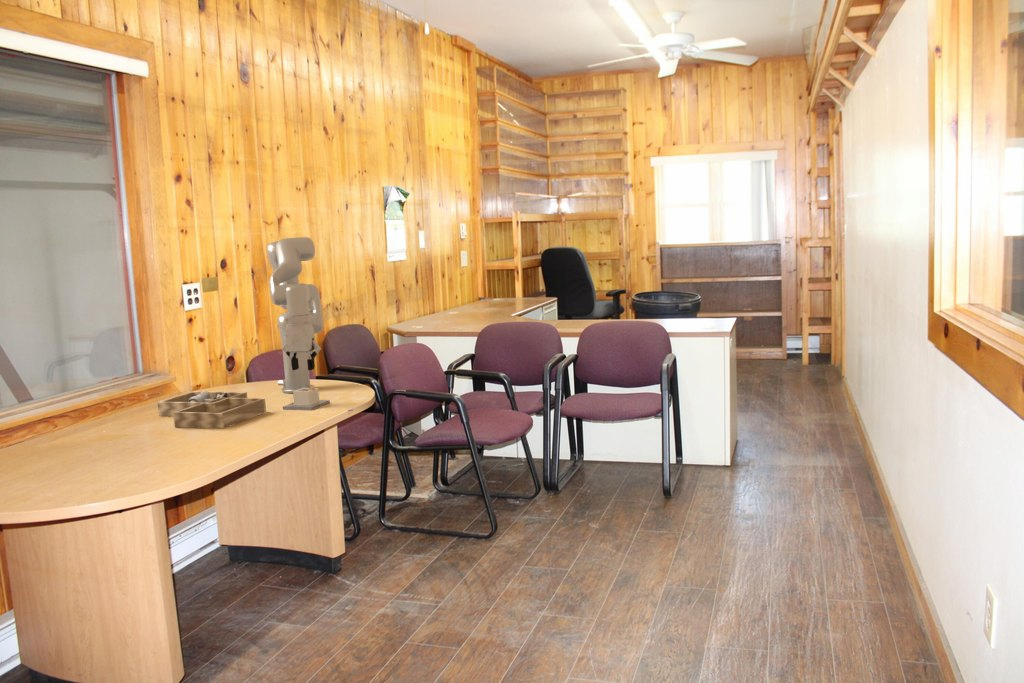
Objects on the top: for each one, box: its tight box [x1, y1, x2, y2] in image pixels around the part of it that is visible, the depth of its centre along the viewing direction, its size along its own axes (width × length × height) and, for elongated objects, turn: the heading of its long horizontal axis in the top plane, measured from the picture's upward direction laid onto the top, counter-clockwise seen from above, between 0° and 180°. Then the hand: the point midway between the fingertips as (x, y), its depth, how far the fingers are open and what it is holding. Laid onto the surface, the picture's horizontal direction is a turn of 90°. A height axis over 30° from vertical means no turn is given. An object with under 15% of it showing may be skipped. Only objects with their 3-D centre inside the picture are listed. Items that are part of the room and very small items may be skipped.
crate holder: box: [157, 391, 248, 417], centre depth 302 cm, size 24×19×5 cm
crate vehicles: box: [173, 397, 267, 430], centre depth 286 cm, size 19×24×5 cm
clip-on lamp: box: [188, 390, 227, 403], centre depth 302 cm, size 12×6×18 cm
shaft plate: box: [282, 390, 331, 411], centre depth 301 cm, size 12×12×6 cm
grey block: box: [292, 386, 320, 405], centre depth 301 cm, size 6×7×6 cm
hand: (303, 369), depth 299 cm, fingers open, 5 cm apart
